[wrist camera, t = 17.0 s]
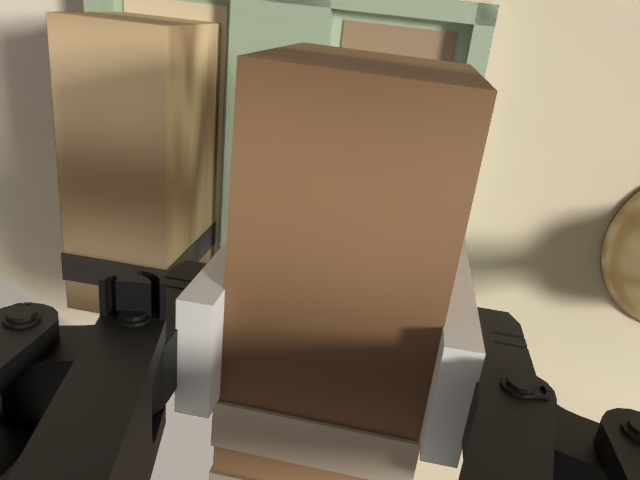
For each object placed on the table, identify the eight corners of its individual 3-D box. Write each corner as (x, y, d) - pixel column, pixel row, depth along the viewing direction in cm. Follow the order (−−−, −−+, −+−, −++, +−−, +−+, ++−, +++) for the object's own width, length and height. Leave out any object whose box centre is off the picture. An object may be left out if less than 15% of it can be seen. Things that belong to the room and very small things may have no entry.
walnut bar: (301, 42, 16) (233, 55, 10) (472, 64, 15) (501, 92, 10) (265, 403, 20) (204, 552, 15) (396, 430, 20) (386, 595, 14)
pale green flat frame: (107, -37, 27) (81, -41, 25) (493, 5, 25) (499, 4, 23) (117, 260, 32) (96, 277, 30) (431, 314, 30) (431, 335, 28)
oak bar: (124, 11, 26) (42, 11, 21) (222, 23, 26) (166, 26, 20) (130, 254, 31) (65, 308, 25) (214, 268, 30) (166, 326, 25)
